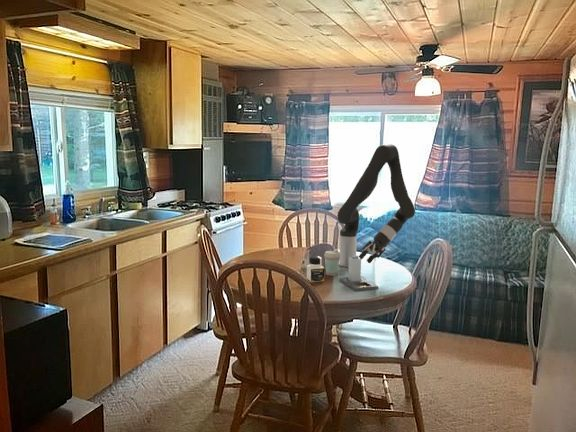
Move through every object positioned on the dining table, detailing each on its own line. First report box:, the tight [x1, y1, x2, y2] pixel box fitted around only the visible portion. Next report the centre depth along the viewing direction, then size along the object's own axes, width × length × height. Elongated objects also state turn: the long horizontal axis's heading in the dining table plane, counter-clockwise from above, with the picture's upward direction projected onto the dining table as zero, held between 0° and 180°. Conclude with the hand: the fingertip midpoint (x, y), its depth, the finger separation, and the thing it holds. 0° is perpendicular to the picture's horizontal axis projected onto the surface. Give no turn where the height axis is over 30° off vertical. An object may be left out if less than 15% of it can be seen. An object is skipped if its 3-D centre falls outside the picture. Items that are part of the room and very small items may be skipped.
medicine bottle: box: [306, 255, 325, 283], centre depth 241 cm, size 7×7×12 cm
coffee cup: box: [323, 250, 340, 277], centre depth 251 cm, size 9×8×12 cm
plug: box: [347, 254, 362, 282], centre depth 237 cm, size 4×4×13 cm
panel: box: [339, 275, 379, 292], centre depth 234 cm, size 18×12×2 cm, turn 18°
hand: (363, 260), depth 238 cm, fingers open, 8 cm apart
